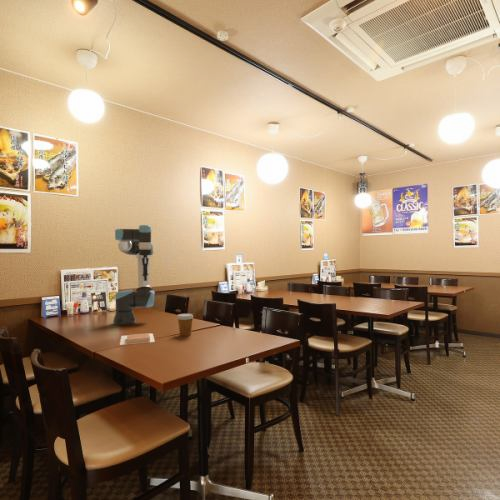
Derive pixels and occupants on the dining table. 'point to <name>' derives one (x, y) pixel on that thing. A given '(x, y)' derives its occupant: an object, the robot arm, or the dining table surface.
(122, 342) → the mat
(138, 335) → the tile
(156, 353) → the dining table surface
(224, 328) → the dining table surface
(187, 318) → the disposable coffee cup
